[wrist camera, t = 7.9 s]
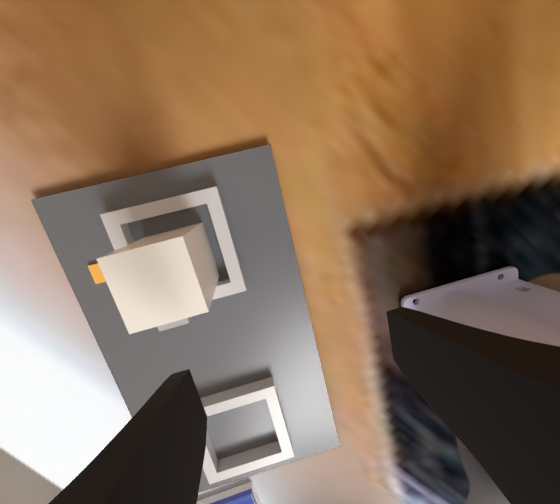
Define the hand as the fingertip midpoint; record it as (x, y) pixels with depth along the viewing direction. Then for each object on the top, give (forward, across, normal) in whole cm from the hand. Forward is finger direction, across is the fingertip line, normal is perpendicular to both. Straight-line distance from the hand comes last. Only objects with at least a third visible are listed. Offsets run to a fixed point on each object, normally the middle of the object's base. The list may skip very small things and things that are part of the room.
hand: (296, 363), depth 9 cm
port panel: (+9, +5, +4) cm, 11 cm away
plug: (+9, +5, -3) cm, 11 cm away
